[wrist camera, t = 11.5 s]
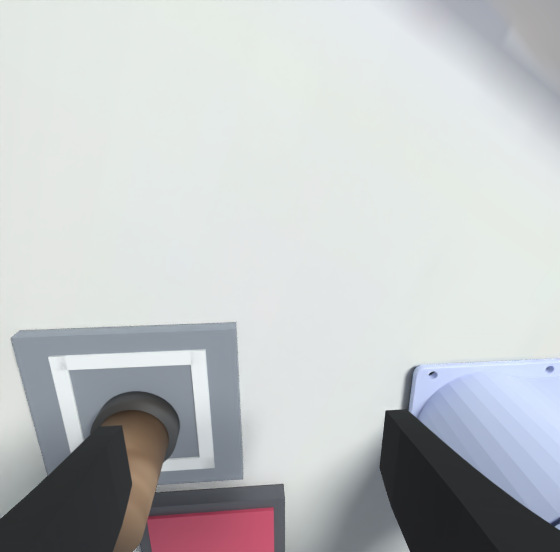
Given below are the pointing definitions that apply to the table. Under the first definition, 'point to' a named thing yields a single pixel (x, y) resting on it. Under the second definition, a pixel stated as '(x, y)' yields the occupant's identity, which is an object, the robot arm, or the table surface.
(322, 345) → the table surface
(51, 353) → the board
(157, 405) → the stamp
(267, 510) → the ink pad
